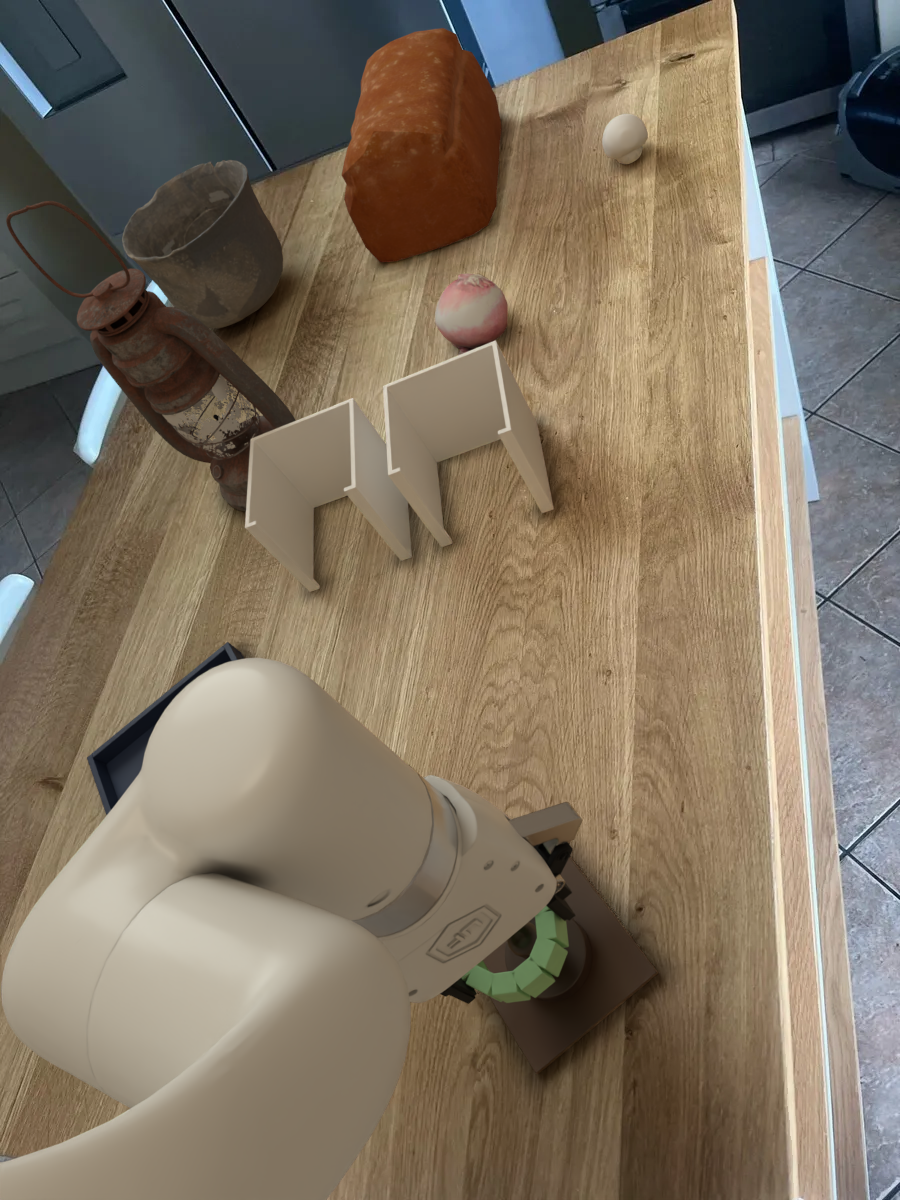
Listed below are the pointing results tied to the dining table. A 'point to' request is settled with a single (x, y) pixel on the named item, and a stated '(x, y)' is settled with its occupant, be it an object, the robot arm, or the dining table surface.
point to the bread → (422, 147)
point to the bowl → (208, 244)
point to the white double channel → (389, 456)
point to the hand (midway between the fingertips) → (508, 937)
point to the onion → (471, 312)
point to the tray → (141, 736)
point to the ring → (527, 964)
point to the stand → (572, 976)
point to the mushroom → (624, 138)
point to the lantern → (175, 371)
